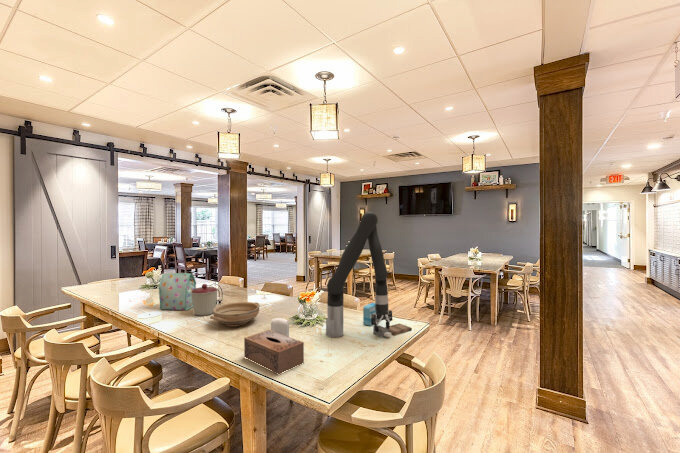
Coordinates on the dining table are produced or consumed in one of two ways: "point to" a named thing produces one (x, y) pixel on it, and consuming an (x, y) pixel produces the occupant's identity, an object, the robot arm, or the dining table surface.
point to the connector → (382, 332)
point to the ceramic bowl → (235, 313)
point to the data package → (368, 313)
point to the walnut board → (398, 329)
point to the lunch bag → (176, 291)
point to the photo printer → (280, 326)
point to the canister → (204, 300)
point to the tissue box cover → (274, 351)
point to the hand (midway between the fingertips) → (382, 330)
